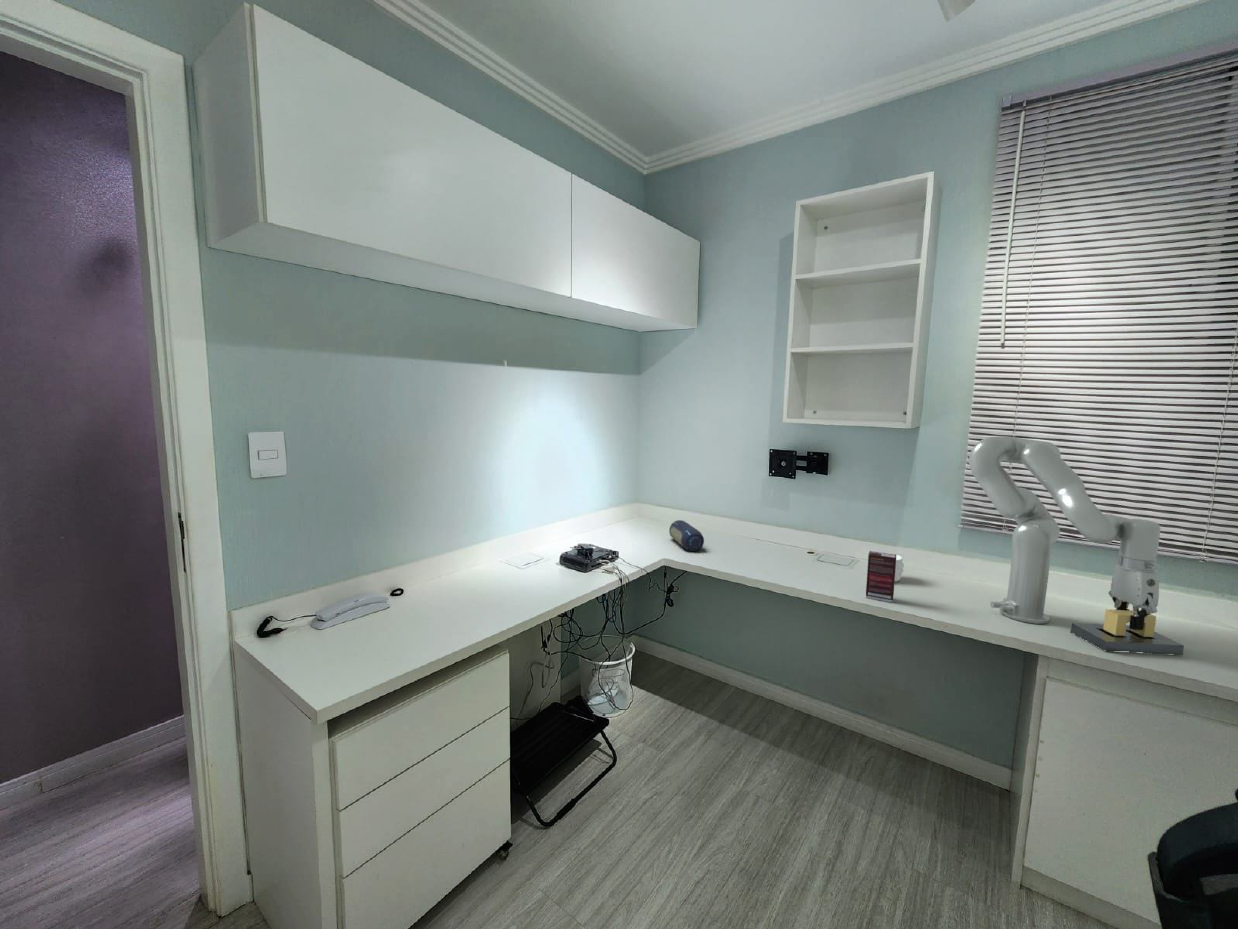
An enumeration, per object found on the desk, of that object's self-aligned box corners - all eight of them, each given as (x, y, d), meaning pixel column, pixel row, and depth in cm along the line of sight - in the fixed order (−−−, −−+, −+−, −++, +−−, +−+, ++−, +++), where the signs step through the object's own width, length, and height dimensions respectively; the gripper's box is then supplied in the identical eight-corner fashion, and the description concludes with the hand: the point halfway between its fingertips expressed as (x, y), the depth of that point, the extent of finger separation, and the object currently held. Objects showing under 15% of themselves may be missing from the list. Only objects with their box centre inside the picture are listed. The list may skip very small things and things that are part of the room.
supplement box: (893, 598, 179) (897, 554, 177) (892, 603, 175) (896, 557, 173) (865, 593, 183) (869, 550, 181) (864, 597, 179) (868, 553, 177)
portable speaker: (666, 538, 250) (667, 518, 249) (685, 537, 253) (686, 518, 251) (684, 554, 226) (685, 531, 225) (705, 552, 228) (706, 530, 227)
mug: (900, 587, 190) (902, 563, 189) (869, 581, 196) (871, 558, 195) (903, 578, 200) (906, 555, 199) (874, 573, 206) (876, 550, 204)
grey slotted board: (1104, 651, 143) (1106, 641, 142) (1070, 632, 154) (1071, 622, 154) (1182, 656, 141) (1184, 645, 141) (1141, 636, 153) (1143, 626, 153)
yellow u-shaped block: (1115, 635, 145) (1117, 615, 145) (1103, 629, 149) (1105, 609, 149) (1153, 637, 145) (1156, 616, 144) (1140, 630, 149) (1142, 610, 148)
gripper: (1180, 573, 136) (1171, 639, 138) (1124, 555, 153) (1116, 614, 155) (1150, 572, 137) (1141, 638, 139) (1097, 554, 153) (1090, 613, 155)
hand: (1128, 625), depth 147 cm, fingers closed on yellow u-shaped block, 4 cm apart
